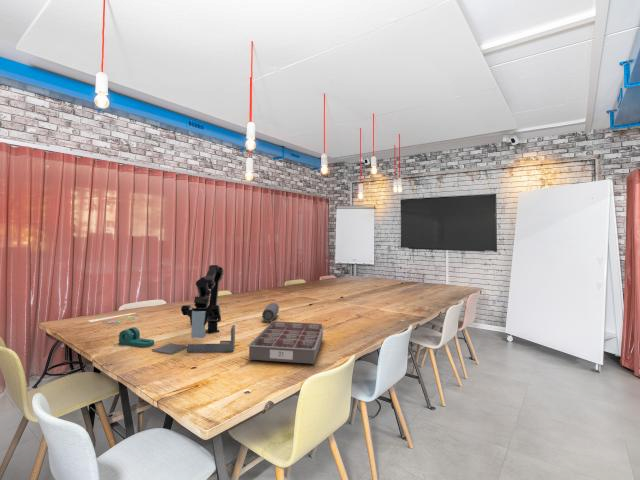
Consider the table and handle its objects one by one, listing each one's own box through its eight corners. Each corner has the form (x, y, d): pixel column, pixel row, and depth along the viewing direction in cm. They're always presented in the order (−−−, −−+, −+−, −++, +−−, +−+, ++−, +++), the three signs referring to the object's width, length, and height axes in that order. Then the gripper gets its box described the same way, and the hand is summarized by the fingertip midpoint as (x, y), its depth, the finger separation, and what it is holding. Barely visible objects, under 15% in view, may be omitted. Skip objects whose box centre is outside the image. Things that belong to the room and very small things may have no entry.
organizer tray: (246, 362, 155) (247, 341, 155) (269, 337, 194) (269, 320, 194) (315, 367, 151) (315, 345, 151) (323, 340, 191) (324, 323, 191)
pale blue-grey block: (192, 336, 169) (193, 311, 169) (204, 336, 170) (205, 311, 170) (191, 337, 167) (191, 312, 167) (203, 337, 168) (204, 312, 167)
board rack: (190, 348, 171) (190, 325, 171) (234, 348, 174) (235, 325, 173) (187, 352, 165) (187, 328, 165) (233, 352, 168) (233, 328, 168)
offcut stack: (220, 349, 171) (220, 341, 171) (230, 349, 172) (230, 341, 172) (219, 351, 169) (219, 343, 169) (229, 351, 169) (229, 343, 169)
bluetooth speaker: (275, 323, 224) (275, 308, 224) (261, 323, 224) (261, 308, 224) (279, 315, 246) (279, 302, 246) (267, 315, 247) (267, 301, 247)
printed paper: (135, 313, 243) (135, 311, 243) (156, 321, 226) (156, 318, 226) (87, 321, 219) (88, 318, 219) (107, 330, 202) (108, 328, 202)
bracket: (118, 344, 175) (119, 329, 175) (129, 341, 181) (129, 326, 181) (147, 348, 170) (147, 333, 170) (157, 344, 177) (157, 329, 177)
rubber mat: (170, 344, 177) (170, 343, 177) (188, 347, 173) (188, 345, 173) (152, 351, 166) (152, 350, 166) (171, 354, 162) (171, 353, 162)
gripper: (182, 289, 171) (174, 316, 160) (219, 290, 173) (214, 316, 162) (186, 301, 179) (179, 328, 168) (222, 302, 181) (217, 327, 170)
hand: (197, 324), depth 167 cm, fingers closed on pale blue-grey block, 6 cm apart
